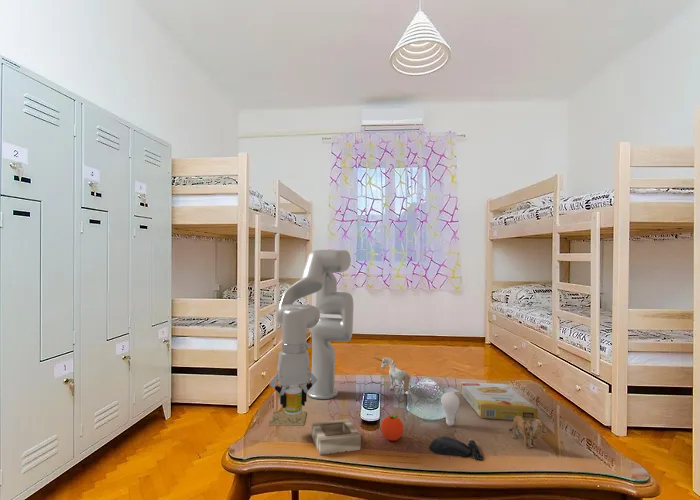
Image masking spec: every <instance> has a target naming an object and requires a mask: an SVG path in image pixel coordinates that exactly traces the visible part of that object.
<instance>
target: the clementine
mask: <svg viewBox="0 0 700 500" xmlns="http://www.w3.org/2000/svg"><path fill="white" fill-rule="evenodd" d="M380 429H381V433H382V435H383V437H384V438H385V439H386V440H389V441H398V440H399V439H400V438H401V437H402V436H403V434H404V424H403V422H402V420H401V419H400V418H399V417H398V415H396V414H392V415H389V416H386V417H385V418H384V419H383V420H382V421H381V424H380Z"/></svg>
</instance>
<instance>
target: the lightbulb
mask: <svg viewBox="0 0 700 500" xmlns="http://www.w3.org/2000/svg"><path fill="white" fill-rule="evenodd" d="M440 404H441V406H442V409H443V411H444V416H445V423H446V425H447V426H450V427H452V426H453V425H454V423H455V418H456V413H457V411H458V409H459V406H460V404H461V403H460V399H459V396H458V395H457V394H456V393H454V392H450V391H448V392H445V393H444V394H442V396H441V397H440Z"/></svg>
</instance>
